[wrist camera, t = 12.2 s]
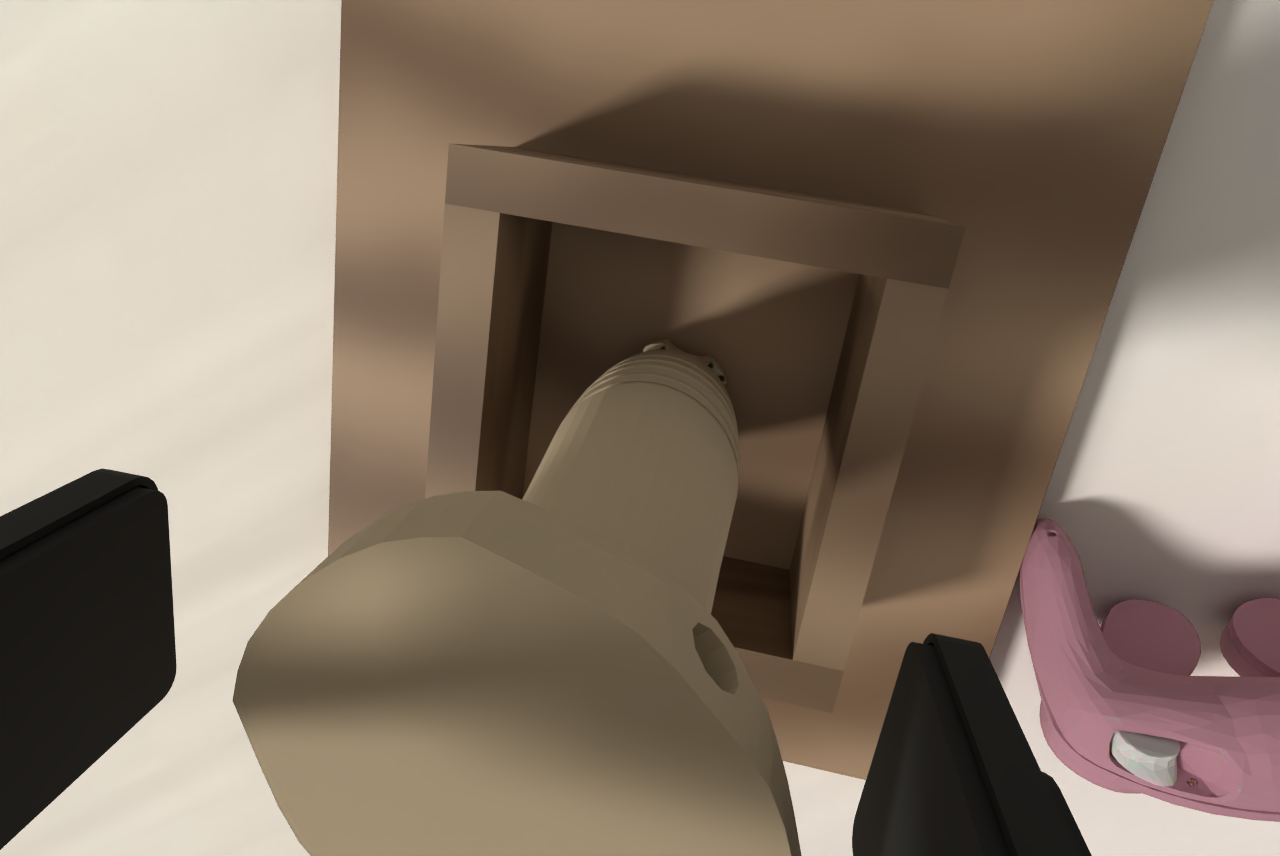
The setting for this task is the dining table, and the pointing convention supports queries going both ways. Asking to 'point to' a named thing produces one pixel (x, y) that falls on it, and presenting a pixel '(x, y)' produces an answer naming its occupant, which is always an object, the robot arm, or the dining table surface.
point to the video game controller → (1152, 691)
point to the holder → (753, 280)
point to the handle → (533, 655)
